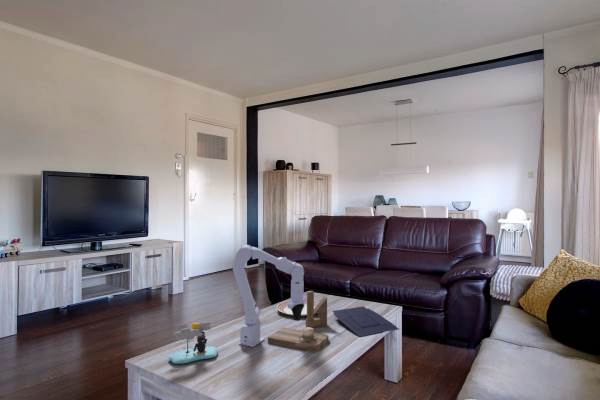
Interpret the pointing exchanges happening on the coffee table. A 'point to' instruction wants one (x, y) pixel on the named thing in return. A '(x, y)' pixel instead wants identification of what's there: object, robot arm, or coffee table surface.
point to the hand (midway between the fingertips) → (296, 320)
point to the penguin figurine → (201, 350)
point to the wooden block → (316, 311)
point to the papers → (364, 321)
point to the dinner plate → (284, 309)
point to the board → (297, 340)
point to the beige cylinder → (308, 333)
